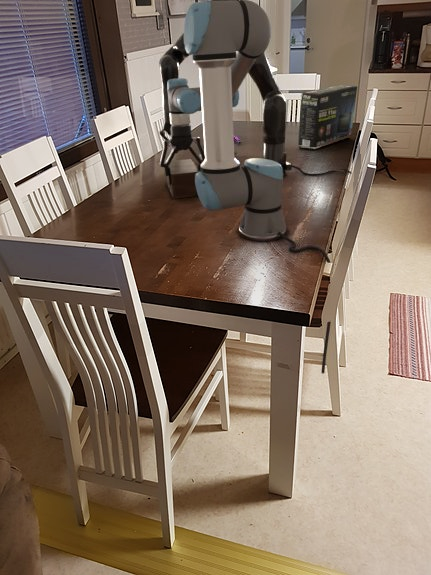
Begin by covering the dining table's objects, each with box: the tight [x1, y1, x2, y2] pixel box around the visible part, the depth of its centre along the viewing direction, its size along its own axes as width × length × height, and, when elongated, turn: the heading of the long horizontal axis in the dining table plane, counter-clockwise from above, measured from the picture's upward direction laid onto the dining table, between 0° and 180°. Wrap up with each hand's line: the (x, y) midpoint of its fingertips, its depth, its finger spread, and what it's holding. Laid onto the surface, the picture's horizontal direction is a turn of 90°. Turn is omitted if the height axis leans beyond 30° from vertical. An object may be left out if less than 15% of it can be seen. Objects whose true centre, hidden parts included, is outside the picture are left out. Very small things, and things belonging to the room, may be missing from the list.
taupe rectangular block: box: [165, 158, 199, 200], centre depth 186 cm, size 18×11×10 cm, turn 13°
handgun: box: [234, 135, 242, 145], centre depth 257 cm, size 21×8×2 cm, turn 11°
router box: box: [297, 84, 358, 151], centre depth 238 cm, size 36×11×27 cm, turn 134°
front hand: (184, 182), depth 181 cm, fingers closed on taupe rectangular block, 11 cm apart
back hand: (175, 152), depth 195 cm, fingers closed
